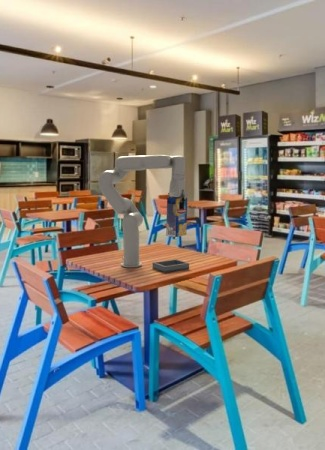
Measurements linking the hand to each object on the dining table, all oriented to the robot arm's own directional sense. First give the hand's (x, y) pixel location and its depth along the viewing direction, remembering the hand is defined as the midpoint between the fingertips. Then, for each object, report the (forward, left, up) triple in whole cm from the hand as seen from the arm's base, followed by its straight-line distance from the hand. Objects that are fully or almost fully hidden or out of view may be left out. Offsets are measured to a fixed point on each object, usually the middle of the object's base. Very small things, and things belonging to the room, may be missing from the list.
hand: (177, 208), depth 244 cm
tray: (0, -4, -35) cm, 36 cm away
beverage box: (0, 0, -16) cm, 16 cm away
